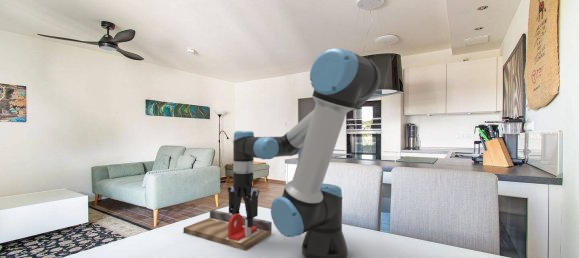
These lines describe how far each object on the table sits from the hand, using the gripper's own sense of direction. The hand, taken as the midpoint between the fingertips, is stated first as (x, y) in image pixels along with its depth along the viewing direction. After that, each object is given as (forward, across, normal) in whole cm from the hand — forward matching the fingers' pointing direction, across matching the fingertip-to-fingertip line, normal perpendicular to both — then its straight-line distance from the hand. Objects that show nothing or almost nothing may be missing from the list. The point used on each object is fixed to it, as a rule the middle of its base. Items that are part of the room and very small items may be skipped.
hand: (242, 233), depth 97 cm
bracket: (0, 0, -1) cm, 1 cm away
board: (+3, +10, -2) cm, 10 cm away
